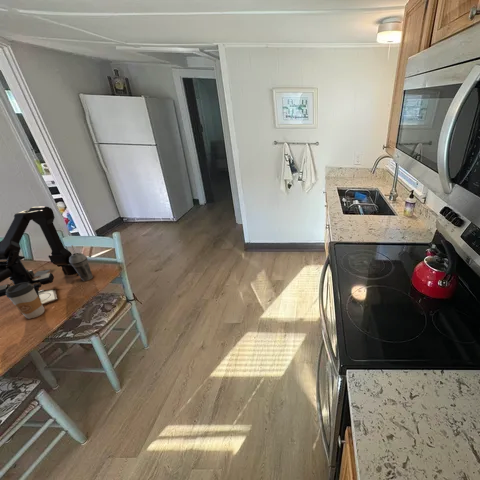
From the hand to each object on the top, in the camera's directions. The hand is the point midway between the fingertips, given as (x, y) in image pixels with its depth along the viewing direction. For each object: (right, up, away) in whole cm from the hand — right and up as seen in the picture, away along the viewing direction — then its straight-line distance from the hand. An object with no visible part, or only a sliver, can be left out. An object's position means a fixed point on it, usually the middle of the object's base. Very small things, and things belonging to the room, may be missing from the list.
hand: (34, 298), depth 127 cm
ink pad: (-19, +9, +21) cm, 30 cm away
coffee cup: (+7, -6, -6) cm, 11 cm away
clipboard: (0, -1, +3) cm, 3 cm away
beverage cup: (+10, +7, +18) cm, 22 cm away
